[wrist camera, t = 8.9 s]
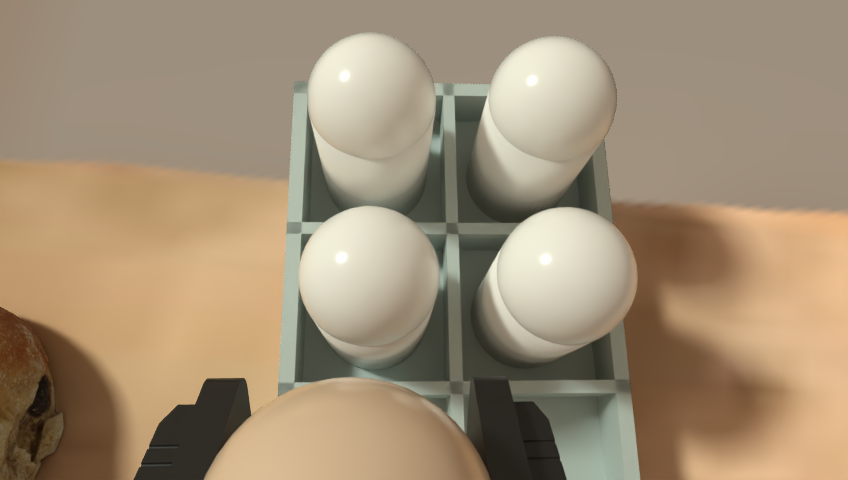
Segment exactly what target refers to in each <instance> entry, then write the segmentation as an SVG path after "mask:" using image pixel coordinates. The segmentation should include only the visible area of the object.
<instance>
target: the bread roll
mask: <svg viewBox="0 0 848 480" xmlns="http://www.w3.org/2000/svg"><path fill="white" fill-rule="evenodd" d="M48 366H49V362H48V357H47V355H46V353H45V352H44V349H43V347H42V345H41V342H40V341H39V338H38V336H37V335H36V333H35V331H34V330H33V329H32V328H31V327H30V326H28V325H27V324H26V323H25V322H24V321H23V320H21V319H20V318H19V317H17V316H16V315H14V314H13V313H11V312H9V311H7V310H5V309H3V308H1V307H0V480H34V478H35V476H36V474H37V472H38V470H39V468H40V466H41V463H40V462H41V459H43V458H44V457H46V456H48V455H51V454H52V453H53V452H54V451H56V449H57V447H58V445H59V442H60V439H61V435H62V433H63V430H64V424H63V413H56V411H55V394H54V387H53V380H52V375H51V372H50V370H49V368H48Z"/></svg>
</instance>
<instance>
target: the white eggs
mask: <svg viewBox="0 0 848 480" xmlns="http://www.w3.org/2000/svg"><path fill="white" fill-rule="evenodd" d="M307 106H308V112H309V116H310V120H311V124H312V128H313V132H314V136H315V140H316V144H317V148H318V152H319V156H320V160H321V164H322V168H323V172H324V176H325V180H326V184H327V188H328V191H329V194H330V197H331V199H332V201H333V202H334V204H335V205H336V207H337V208H338V209H339V210H340V211H341V212H340V213H338V214H336V215H334V216H333V217H331V218H329V219H328V220H327V221H325V222H324V223H323V224H322V225H321V226H320V227H319V228H318V229H317V230H316V231H315V232H314V233H313V235H312V236H311V237H310V239H309V241H308V242H307V244H306V246H305V248H304V251H303V253H302V257H301V261H300V265H299V273H298V276H299V288H300V293H301V296H302V300H303V303H304V305H305V307H306V309H307V311H308V313H309V314H310V316H311V318H312V319H313V321H314V322H315V324H316V325H317V327H318V328H319V330H320V331H321V333H322V334H323V336H324V338H325V339H326V341H327V342H328V344H329V345H330V347H331V348H332V350H333V351H334V352H335V353H336V354H337V355H338V356H339V357H340V358H341V359H343V360H344V361H346V362H347V363H349V364H351V365H353V366H356V367H359V368H362V369H368V370H379V369H385V368H390V367H392V366H395V365H397V364H399V363H401V362H403V361H404V360H406V359H407V358H408V357H409V356H410V355H412V354H413V353H414V351H415V350H416V349H417V348H418V346H419V345H420V343H421V341H422V339H423V337H424V334H425V331H426V328H427V325H428V322H429V319H430V316H431V313H432V310H433V306H434V303H435V300H436V297H437V294H438V289H439V279H440V272H439V263H438V259H437V255H436V252H435V250H434V247H433V245H432V244H431V242H430V240H429V238H428V237H427V235H426V234H425V233H424V231H423V230H422V229H421V228H420V227H419V226H418V225H417V224H416V223H415V222H413V221H412V220H411V219H409V218H408V217H406V215H407V214H409V213H410V212H411V211H412V210H413V209H414V208H415V207H416V205H417V204H418V203H419V201H420V199H421V197H422V195H423V192H424V188H425V183H426V176H427V168H428V161H429V153H430V146H431V139H432V131H433V124H434V116H435V109H436V91H435V86H434V82H433V78H432V75H431V73H430V71H429V69H428V67H427V65H426V64H425V62H424V60H423V59H422V58H421V57H420V55H419V54H418V53H417V52H416V51H415V50H414V49H413V48H411V47H410V46H409V45H408V44H406V43H405V42H403V41H401V40H399V39H397V38H395V37H392V36H389V35H386V34H380V33H361V34H356V35H352V36H349V37H346V38H344V39H342V40H340V41H338V42H336V43H335V44H334V45H332V46H331V47H330V48H329V49H328V50H327V51H325V53H324V54H323V55H322V56H321V57H320V59H319V60H318V62H317V63H316V65H315V67H314V69H313V71H312V73H311V76H310V79H309V83H308V89H307ZM616 108H617V89H616V84H615V81H614V77H613V74H612V72H611V70H610V68H609V66H608V65H607V63H606V62H605V60H604V59H603V58H602V57H601V56H600V55H599V54H598V53H597V52H596V51H595V50H594V49H593V48H591V47H590V46H588V45H586V44H585V43H583V42H580V41H578V40H576V39H573V38H569V37H562V36H548V37H543V38H538V39H534V40H532V41H529V42H527V43H525V44H523V45H521V46H520V47H518V48H517V49H515V50H514V51H513V52H512V53H510V54H509V55H508V56H507V57H506V59H504V61H503V62H502V63H501V65H500V66H499V68H498V69H497V71H496V73H495V75H494V77H493V80H492V82H491V85H490V88H489V92H488V95H487V99H486V102H485V106H484V110H483V113H482V117H481V120H480V124H479V127H478V131H477V134H476V138H475V142H474V145H473V149H472V152H471V156H470V159H469V163H468V166H467V172H466V183H467V188H468V191H469V194H470V196H471V198H472V200H473V202H474V203H475V204H476V206H477V207H478V208H479V209H480V210H481V211H482V212H483V213H484V214H485V215H487V216H488V217H490V218H491V219H493V220H496V221H498V222H501V223H520V224H519V225H518V226H517V227H516V228H515V229H514V230H513V231H512V233H511V234H510V235H509V236H508V238H507V239H506V241H505V242H504V244H503V246H502V248H501V249H500V251H499V253H498V255H497V256H496V258H495V260H494V261H493V263H492V265H491V267H490V268H489V270H488V272H487V274H486V275H485V277H484V279H483V281H482V282H481V284H480V286H479V287H478V289H477V291H476V293H475V295H474V298H473V301H472V307H471V322H472V327H473V330H474V333H475V336H476V338H477V340H478V342H479V343H480V345H481V346H482V347H483V349H484V350H485V351H486V352H487V353H488V354H489V355H490V356H492V357H493V358H494V359H496V360H497V361H499V362H501V363H503V364H505V365H508V366H511V367H515V368H523V369H528V368H536V367H540V366H543V365H546V364H548V363H550V362H552V361H554V360H556V359H558V358H560V357H562V356H564V355H566V354H568V353H570V352H573V351H575V350H577V349H579V348H581V347H583V346H585V345H587V344H589V343H591V342H593V341H595V340H597V339H599V338H601V337H603V336H605V335H606V334H608V333H609V332H610V331H612V330H613V329H614V328H615V327H616V326H617V325H618V324H620V323H621V321H622V320H623V319H624V317H625V316H626V315H627V313H628V311H629V309H630V308H631V306H632V303H633V301H634V298H635V295H636V290H637V282H638V271H637V264H636V260H635V257H634V253H633V251H632V249H631V247H630V245H629V243H628V241H627V240H626V238H625V237H624V236H623V234H622V233H621V232H620V231H619V230H618V229H617V228H616V227H615V226H614V225H613V224H612V223H611V222H609V221H608V220H607V219H605V218H603V217H602V216H600V215H598V214H596V213H594V212H591V211H588V210H585V209H580V208H575V207H558V208H555V207H556V205H557V204H558V203H559V201H560V200H561V198H562V197H563V195H564V194H565V193H566V191H567V190H568V188H569V187H570V186H571V184H572V183H573V181H574V180H575V179H576V177H577V176H578V174H579V173H580V171H581V170H582V169H583V167H584V166H585V164H586V163H587V162H588V160H589V159H590V157H591V156H592V154H593V153H594V152H595V150H596V149H597V147H598V146H599V145H600V143H601V142H602V140H603V139H604V138H605V136H606V134H607V133H608V131H609V129H610V127H611V125H612V123H613V120H614V116H615V112H616Z"/></svg>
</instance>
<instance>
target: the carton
mask: <svg viewBox="0 0 848 480" xmlns="http://www.w3.org/2000/svg"><path fill="white" fill-rule="evenodd" d="M308 83H309V82H304V81H303V82H302V81H301V82H300V81H295V84H294V85H295V86H294V103H293V121H292V140H291V158H290V177H289V196H288V214H287V233H286V252H285V270H284V289H283V308H282V326H281V345H280V364H279V382H278V396H280V395H282V394H284V393H286V392H288V391H290V390H293V389H295V388H297V387H300V386H303V385H306V384H309V383H312V382H315V381H320V380H326V379H331V378H342V377H362V378H373V379H378V380H382V381H387V382H391V383H394V384H397V385H400V386H402V387H405V388H408V389H410V390H412V391H414V392H416V393H418V394H420V395H422V396H423V397H425V398H427V399H428V400H430V401H431V402H432V403H434V404H435V405H437V406H438V407H440V408H441V409H442V410H443V411H444V412H445V413H447V414H448V415H449V416H450V417H451V418H452V419H453V420H454V421H455V422H456V423H457V424H458V425H459V427H460V428H461V429H462V430H463V431H464V432H465V434H466V435H467V420H468V405H469V391H470V380H471V377H479V376H506V377H507V378H508V381H509V385H510V389H511V393H512V397H513V402H519V401H533V402H534V403H535V404H536V405H537V406H538V407H539V409H540V410H541V411H542V412H543V413H544V414H545V416H546V417H547V418H548V419H549V422H550V425H551V428H552V432H553V435H554V438H555V444H556V445H557V448H558V452H559V455H560V461H561V462H562V465H563V468H564V472H565V475H566V478H567V480H640V472H639V462H638V453H637V443H636V434H635V425H634V415H633V406H632V396H631V387H630V378H629V368H628V359H627V349H626V340H625V330H624V321H623V320H622V321H621V323H620V324H618V325H617V326H616V327H615V328H614V329H613V330H612V331H610V332H609V333H608V334H606V335H605V336H603V337H601V338H599V339H597V340H595V341H593V342H591V343H589V344H587V345H585V346H583V347H581V348H579V349H577V350H575V351H573V352H570V353H568V354H566V355H564V356H562V357H560V358H558V359H556V360H554V361H552V362H550V363H548V364H546V365H543V366H540V367H536V368H528V369H523V368H515V367H511V366H508V365H505V364H503V363H501V362H499V361H497V360H496V359H494V358H493V357H492V356H490V355H489V354H488V353H487V352H486V351H485V350H484V349H483V347H482V346H481V345H480V343H479V342H478V340H477V338H476V336H475V333H474V330H473V327H472V322H471V307H472V301H473V298H474V295H475V293H476V291H477V289H478V287H479V286H480V284H481V282H482V281H483V279H484V277H485V275H486V274H487V272H488V270H489V268H490V267H491V265H492V263H493V261H494V260H495V258H496V256H497V255H498V253H499V251H500V249H501V248H502V246H503V244H504V242H505V241H506V239H507V238H508V236H509V235H510V234H511V233H512V231H513V230H514V229H515V228H516V227H517V226H518V225H519V224H520V223H501V222H498V221H496V220H493V219H491V218H490V217H488V216H487V215H485V214H484V213H483V212H482V211H481V210H480V209H479V208H478V207H477V206H476V204H475V203H474V202H473V200H472V198H471V196H470V194H469V191H468V188H467V183H466V172H467V166H468V163H469V159H470V156H471V152H472V149H473V145H474V142H475V138H476V134H477V131H478V127H479V124H480V120H481V117H482V113H483V110H484V106H485V102H486V99H487V95H488V92H489V88H490V85H491V84H436V83H435V84H434V86H435V91H436V109H435V116H434V124H433V131H432V139H431V146H430V153H429V161H428V168H427V176H426V183H425V188H424V192H423V195H422V197H421V199H420V201H419V203H418V204H417V205H416V207H415V208H414V209H413V210H412V211H411V212H410V213H409V214H407V215H406V217H408V218H409V219H411V220H412V221H413V222H415V223H416V224H417V225H418V226H419V227H420V228H421V229H422V230H423V231H424V233H425V234H426V235H427V237H428V238H429V240H430V242H431V244H432V245H433V247H434V250H435V252H436V255H437V259H438V263H439V272H440V279H439V289H438V294H437V297H436V300H435V303H434V306H433V310H432V313H431V316H430V319H429V322H428V325H427V328H426V331H425V334H424V337H423V339H422V341H421V343H420V345H419V346H418V348H417V349H416V350H415V351H414V353H413V354H412V355H410V356H409V357H408V358H407V359H406V360H404V361H403V362H401V363H399V364H397V365H395V366H392V367H390V368H385V369H379V370H368V369H362V368H359V367H356V366H353V365H351V364H349V363H347V362H346V361H344V360H343V359H341V358H340V357H339V356H338V355H337V354H336V353H335V352H334V351H333V350H332V348H331V347H330V345H329V344H328V342H327V341H326V339H325V338H324V336H323V334H322V333H321V331H320V330H319V328H318V327H317V325H316V324H315V322H314V321H313V319H312V318H311V316H310V314H309V313H308V311H307V309H306V307H305V305H304V303H303V300H302V296H301V293H300V288H299V276H298V273H299V265H300V261H301V257H302V253H303V251H304V248H305V246H306V244H307V242H308V241H309V239H310V237H311V236H312V235H313V233H314V232H315V231H316V230H317V229H318V228H319V227H320V226H321V225H322V224H323V223H324V222H325V221H327V220H328V219H329V218H331V217H333V216H334V215H336V214H338V213H340V212H341V211H340V210H339V209H338V208H337V207H336V205H335V204H334V202H333V201H332V199H331V197H330V194H329V191H328V188H327V184H326V180H325V176H324V172H323V168H322V164H321V160H320V156H319V152H318V148H317V144H316V140H315V136H314V132H313V128H312V124H311V120H310V116H309V112H308V106H307V89H308ZM558 207H575V208H580V209H585V210H588V211H591V212H594V213H596V214H598V215H600V216H602V217H603V218H605V219H607V220H608V221H609V222H611V223H612V224H613V217H612V208H611V199H610V189H609V180H608V170H607V161H606V151H605V142H604V139H603V140H602V142H601V143H600V145H599V146H598V147H597V149H596V150H595V152H594V153H593V154H592V156H591V157H590V159H589V160H588V162H587V163H586V164H585V166H584V167H583V169H582V170H581V171H580V173H579V174H578V176H577V177H576V179H575V180H574V181H573V183H572V184H571V186H570V187H569V188H568V190H567V191H566V193H565V194H564V195H563V197H562V198H561V200H560V201H559V203H558V204H557V205H556V207H555V208H558Z"/></svg>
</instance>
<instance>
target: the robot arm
mask: <svg viewBox="0 0 848 480" xmlns="http://www.w3.org/2000/svg"><path fill="white" fill-rule="evenodd" d="M250 416H251V411H250V403H249V396H248V388H247V383H246V380H245V379H244V378H209V379H206V380H205V382H204V384H203V386H202V389H201V391H200V394H199V396H198V399H197V401H196V404H195V405H177V406H176V407H175V408H174V409H173V410H172V411H171V412H170V413H169V414H168V415H167V416H166V417H165V418H164V419H163V420H162V421H161V422H160V423H159V425H158V427H157V429H156V431H155V434H154V436H153V438H152V440H151V442H150V445H149V449H147V451H146V454H145V456H144V458H143V460H142V462H141V467H139V469H138V471H137V473H136V476H135V478H134V480H204V478H205V475H206V473H207V471H208V470H209V468H210V466H211V464H212V463H213V461H214V459H215V457H216V456H217V454H218V453H219V451H220V450H221V449H222V447H223V446H224V445H225V443H226V442H227V441H228V439H229V438H230V437H231V435H232V434H233V433H234V432H235V431H236V430H237V429H238V428H239V427H240V426H241V425H242V424H243V423H244V421H245V420H247V419H248V418H249V417H250ZM467 436H468V437H469V439H470V440H471V442H472V443H473V445H474V447H475V448H476V450H477V451H478V453H479V455H480V457H481V459H482V461H483V463H484V465H485V467H486V469H487V471H488V474H489V476H490V479H491V480H567V478H566V475H565V472H564V468H563V465H562V462H561V461H560V455H559V452H558V448H557V445H556V444H555V438H554V435H553V432H552V428H551V425H550V422H549V419H548V418H547V417H546V416H545V414H544V413H543V412H542V411H541V410H540V409H539V407H538V406H537V405H536V404H535V403H534V402H533V401H519V402H513V397H512V393H511V389H510V385H509V381H508V378H507V377H506V376H479V377H471V380H470V391H469V405H468V420H467Z"/></svg>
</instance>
